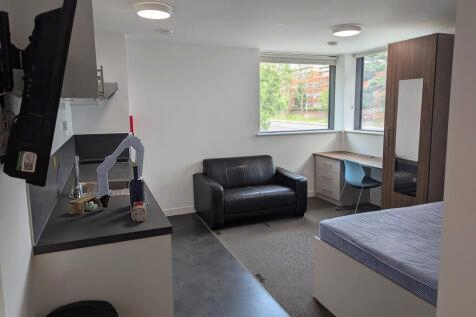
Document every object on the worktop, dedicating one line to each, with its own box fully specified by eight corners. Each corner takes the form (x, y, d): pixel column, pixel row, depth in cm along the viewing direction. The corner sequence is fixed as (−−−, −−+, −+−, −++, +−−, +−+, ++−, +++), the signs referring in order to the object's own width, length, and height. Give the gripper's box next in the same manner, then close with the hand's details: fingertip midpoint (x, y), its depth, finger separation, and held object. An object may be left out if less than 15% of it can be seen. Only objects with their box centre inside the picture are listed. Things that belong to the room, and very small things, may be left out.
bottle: (147, 209, 205) (144, 160, 200) (144, 214, 195) (140, 162, 191) (132, 210, 204) (129, 160, 200) (127, 214, 195) (124, 163, 191)
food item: (147, 222, 182) (146, 204, 181) (131, 223, 180) (130, 205, 179) (147, 214, 195) (146, 198, 194) (132, 216, 193) (131, 199, 192)
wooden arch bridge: (101, 204, 217) (101, 194, 216) (83, 214, 198) (82, 202, 197) (89, 204, 219) (88, 194, 218) (69, 213, 200) (68, 202, 199)
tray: (98, 208, 210) (97, 201, 209) (93, 210, 205) (92, 203, 204) (84, 207, 211) (84, 200, 211) (79, 210, 206) (79, 202, 206)
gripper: (103, 182, 212) (105, 204, 214) (90, 188, 198) (92, 210, 200) (114, 183, 211) (116, 204, 213) (101, 188, 197) (103, 211, 199)
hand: (105, 207), depth 206 cm, fingers closed
